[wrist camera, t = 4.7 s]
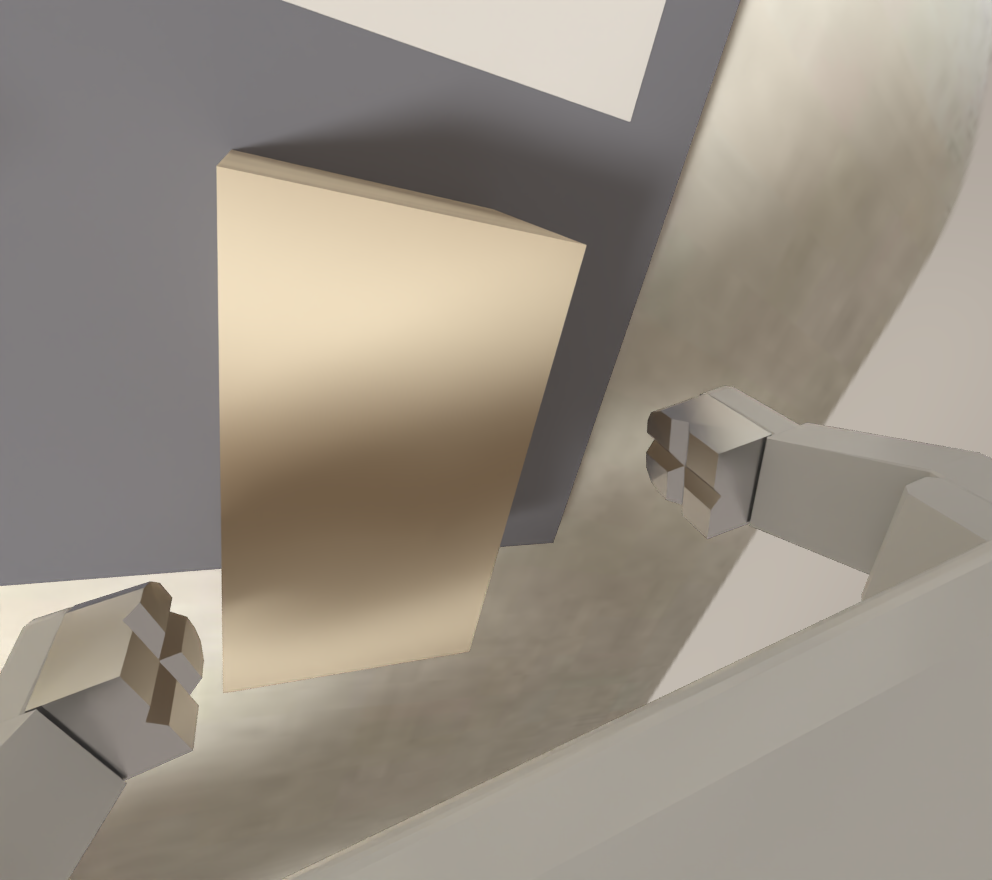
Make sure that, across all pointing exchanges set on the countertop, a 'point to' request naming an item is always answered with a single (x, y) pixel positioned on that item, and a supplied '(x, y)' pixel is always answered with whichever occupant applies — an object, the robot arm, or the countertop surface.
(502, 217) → the block
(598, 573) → the countertop surface
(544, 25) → the mat
